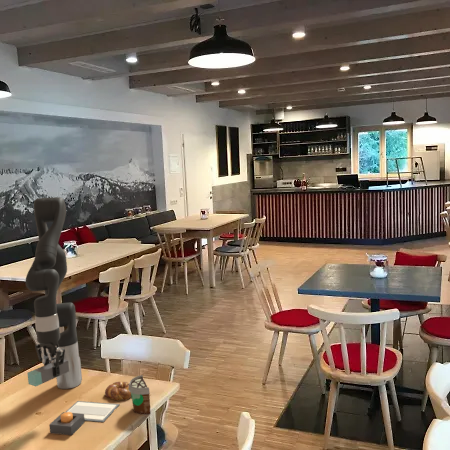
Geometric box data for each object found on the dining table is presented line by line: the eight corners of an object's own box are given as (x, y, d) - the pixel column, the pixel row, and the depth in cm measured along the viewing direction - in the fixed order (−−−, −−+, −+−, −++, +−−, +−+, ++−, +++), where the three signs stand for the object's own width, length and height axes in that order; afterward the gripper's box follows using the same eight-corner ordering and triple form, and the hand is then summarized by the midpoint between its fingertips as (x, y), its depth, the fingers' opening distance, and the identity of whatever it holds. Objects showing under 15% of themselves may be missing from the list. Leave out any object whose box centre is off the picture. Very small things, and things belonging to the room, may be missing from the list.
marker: (62, 369, 174) (61, 358, 173) (69, 371, 172) (68, 360, 171) (28, 384, 163) (27, 372, 162) (35, 386, 161) (34, 375, 160)
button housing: (63, 420, 167) (63, 412, 166) (84, 422, 165) (84, 413, 164) (50, 433, 159) (49, 424, 159) (71, 435, 157) (71, 426, 157)
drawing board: (77, 401, 180) (77, 400, 180) (119, 405, 176) (119, 403, 176) (59, 418, 168) (58, 417, 168) (103, 422, 164) (103, 420, 164)
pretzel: (141, 395, 183) (140, 386, 182) (114, 405, 176) (113, 395, 176) (126, 384, 192) (126, 376, 192) (101, 393, 186) (100, 384, 185)
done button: (65, 418, 164) (64, 411, 164) (75, 419, 163) (74, 412, 163) (58, 424, 160) (58, 417, 160) (69, 425, 159) (68, 418, 159)
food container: (127, 403, 176) (125, 377, 175) (144, 400, 178) (142, 374, 177) (133, 419, 165) (131, 391, 164) (151, 415, 167) (149, 388, 166)
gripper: (70, 326, 165) (74, 375, 167) (44, 320, 173) (49, 367, 175) (51, 333, 159) (56, 383, 161) (25, 327, 167) (30, 375, 169)
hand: (52, 374), depth 168 cm, fingers closed on marker, 4 cm apart
